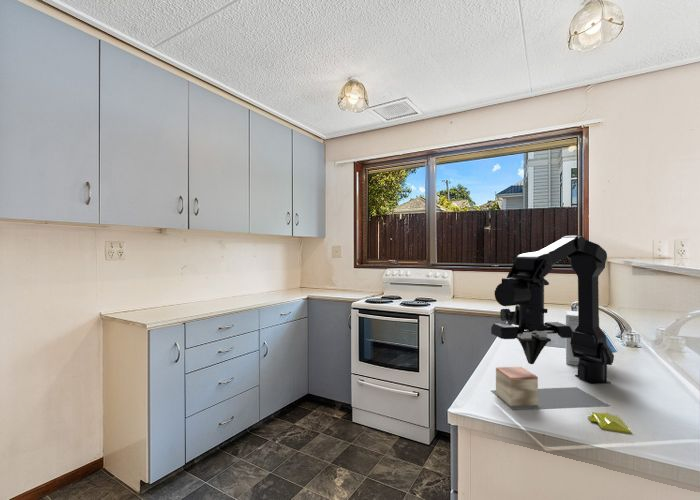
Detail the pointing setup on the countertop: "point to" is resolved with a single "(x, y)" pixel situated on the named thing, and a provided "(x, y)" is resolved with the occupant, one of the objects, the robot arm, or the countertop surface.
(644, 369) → the countertop surface
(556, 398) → the charcoal mat
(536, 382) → the birch cube
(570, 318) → the supplement box
